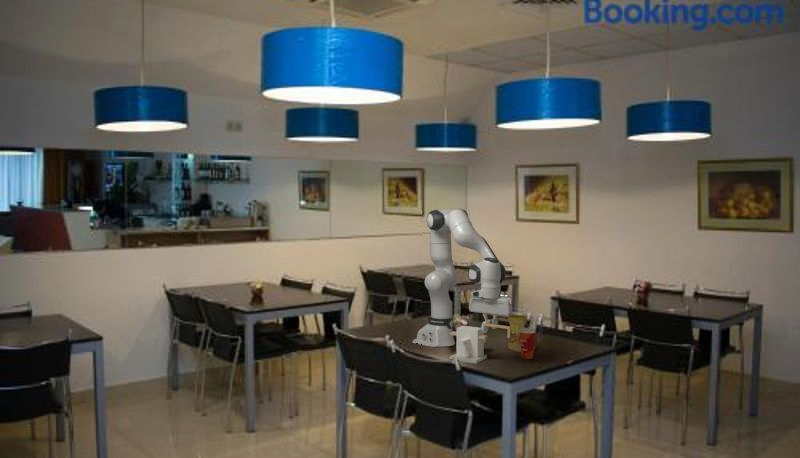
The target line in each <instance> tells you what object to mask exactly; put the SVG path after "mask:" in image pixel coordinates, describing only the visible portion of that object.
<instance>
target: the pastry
mask: <svg viewBox="0 0 800 458" xmlns="http://www.w3.org/2000/svg"><path fill="white" fill-rule="evenodd" d="M507 343H508V344H507V347H508V349H509V350H510V351H512V352H513V351H514V352H518V353H521V345H520V333H519V332H517V333H514V334H512V337H511V338H510V341H509V342H507ZM534 350H536V342H535V341H534Z"/></svg>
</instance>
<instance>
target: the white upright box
mask: <svg viewBox="0 0 800 458" xmlns="http://www.w3.org/2000/svg"><path fill="white" fill-rule="evenodd" d="M450 335H453V336H456V345H455V346H456V353H454V354H451V355H450V356H449V357H448V358H449V360H450V359H453V358H457V359H458V360H459V361H458V362H463V363H469V364H478V363H480V362H482V361H484V360H486V359H488V355H487V354H484V351H485V350H484V349H485V348H484V339H487V340H488V337H489V336H488V335H487V334H485V333H482V330H481V327H477V326H469V325H461V326H459V327H456V331H454V330H453V332H451V333H450ZM450 361H451V360H450Z"/></svg>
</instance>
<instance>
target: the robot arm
mask: <svg viewBox="0 0 800 458" xmlns="http://www.w3.org/2000/svg"><path fill="white" fill-rule="evenodd" d="M426 225H427V227H428V229H430V235H429V247H430V248H429V249H430V253H429V255H430V260H431V262H432V263H433V266H434V270H433V271H430V273H428V274H427V275H426V276H425V279H424V286H425V288H426V289H427V291H428V295H429V298H430V316H429V317H427V318H426V321H428V322H427V323H426V324H425V325H423V327H421V328H420V329H419V330H418V331H417V335H416V338H415V339H413V340H412V344H416V343H418V344H417V345H421V344H422V345H421V346H427V347H432V348H437V347H450V346H454V345H455V344H456V342H455V337H454V335H450V333H451V332H453V331H454V330H453V327H454V318H453V301H452V300H451V298H450V294H449V290H450V289H452V288H454V287H455V286H456V285H457V284H458V283H459V275H458V273H457V272H456V270H455V266H454V262H453V254H452V253H453V252H452V239H453V241H454V242H455V243H456V244H457V245H458V246H460V247H462V248H466V249H470V250H473V251H475V252H477V253H478V254H480V256H481V257H482V260H481V261H479V262H476V263H474V264H471V265H470V267H469V268H468V271H467V276H468V279H469V281H470V282H471V283H472V284H476V285H480V288H479V289H477V290H476V289H475V290H473V291H471V292H470V295H471V297H470V298H469V303H468V310H469V312H472V313H480V314H482V316H483V318H484V321H485V322H486V321H488V320H490V318H489V317H488V315H492V317H493V318H491V319H492V320H491V324H495V319H496V318H498V316H505V317H508V316H509V315H513V314H512V313H513V307H512V304H513V298H512V297H511V296H510V295H509V294H502V293H501V288H502V287H501V283H503V282H504V280H505V278H506V276H507V270H506V267H505V266H504V265H503V264H502V262H501V261H500V260H499V259H498V257H497V255H496V253H495V252H494V251H493V249H492V248H491V246H490V245H489V243H488V241H487V240H486V239H485V238H484V237H483V236H482V235H480V234H479V232H478V231H477V230H476V229H475V227H474V226H473V224H472V222H471V219H470V218H469V215H468V212H467V211H466V210H465V209H464V208H443V209H433V210H430V211H429V212H428V214H427V216H426Z"/></svg>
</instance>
